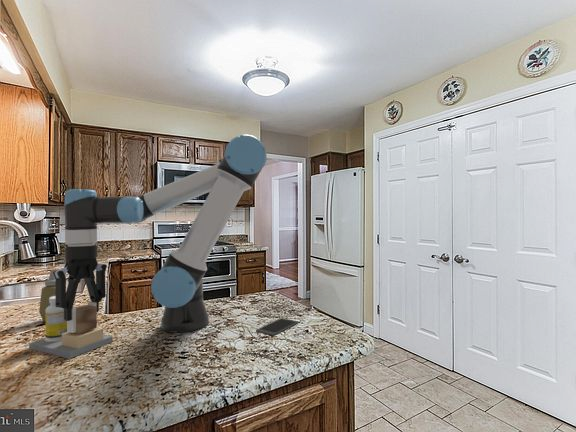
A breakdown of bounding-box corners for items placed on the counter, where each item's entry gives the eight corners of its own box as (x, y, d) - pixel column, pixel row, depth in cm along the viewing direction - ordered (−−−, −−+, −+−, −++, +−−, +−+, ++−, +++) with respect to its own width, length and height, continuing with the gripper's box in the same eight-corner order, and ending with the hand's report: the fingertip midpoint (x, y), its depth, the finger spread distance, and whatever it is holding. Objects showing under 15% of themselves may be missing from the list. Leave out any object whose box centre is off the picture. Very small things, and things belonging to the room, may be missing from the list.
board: (112, 341, 91) (112, 326, 91) (69, 358, 80) (69, 341, 80) (73, 333, 98) (73, 319, 98) (29, 348, 87) (28, 332, 87)
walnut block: (85, 325, 90) (85, 304, 90) (96, 327, 88) (96, 306, 88) (67, 331, 86) (66, 309, 86) (78, 333, 84) (78, 311, 84)
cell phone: (255, 332, 97) (255, 330, 97) (281, 319, 108) (281, 317, 108) (273, 337, 93) (273, 334, 93) (299, 323, 104) (299, 321, 104)
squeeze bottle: (52, 324, 107) (51, 272, 108) (33, 323, 109) (32, 271, 109) (72, 317, 115) (72, 268, 115) (54, 316, 117) (54, 268, 117)
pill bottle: (62, 331, 95) (62, 293, 95) (78, 333, 93) (77, 294, 93) (40, 339, 89) (39, 298, 89) (56, 341, 87) (55, 300, 87)
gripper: (102, 242, 97) (103, 317, 97) (36, 247, 81) (37, 337, 80) (119, 242, 94) (120, 320, 94) (54, 248, 78) (55, 342, 77)
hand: (82, 328), depth 87 cm, fingers closed on walnut block, 5 cm apart
